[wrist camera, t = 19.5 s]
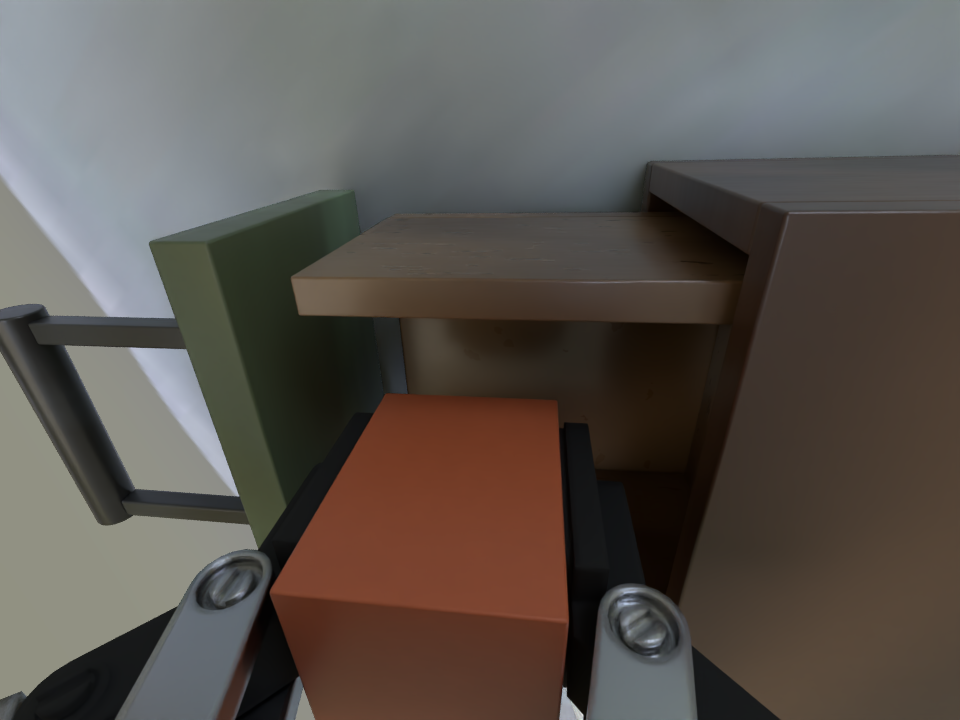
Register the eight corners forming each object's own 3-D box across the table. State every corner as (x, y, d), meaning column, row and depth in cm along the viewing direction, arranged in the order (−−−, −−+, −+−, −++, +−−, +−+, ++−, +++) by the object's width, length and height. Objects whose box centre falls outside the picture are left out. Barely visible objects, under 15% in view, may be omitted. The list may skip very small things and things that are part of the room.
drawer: (225, 456, 21) (83, 605, 14) (130, 192, 16) (-161, 241, 9) (690, 484, 18) (770, 680, 12) (764, 183, 13) (977, 241, 7)
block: (403, 516, 13) (322, 742, 8) (385, 392, 11) (267, 591, 6) (549, 527, 12) (553, 775, 7) (557, 399, 10) (569, 622, 6)
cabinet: (605, 476, 20) (649, 716, 12) (646, 160, 14) (786, 211, 6) (983, 499, 18) (1335, 800, 10) (1209, 149, 12) (2472, 199, 4)
